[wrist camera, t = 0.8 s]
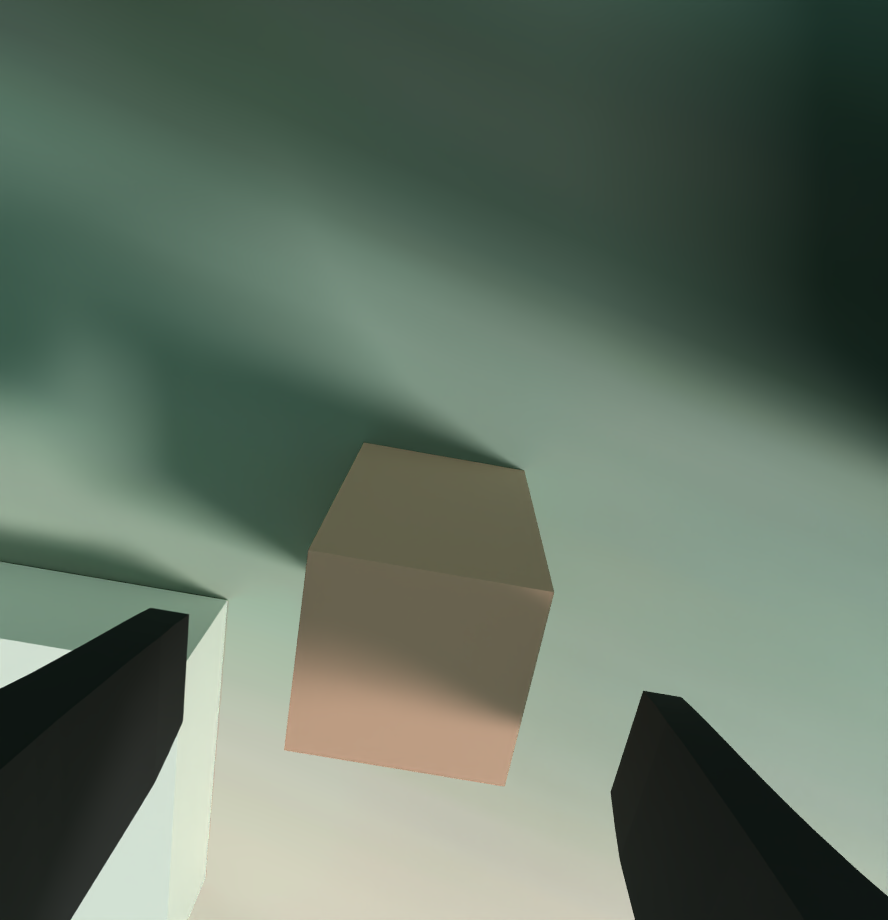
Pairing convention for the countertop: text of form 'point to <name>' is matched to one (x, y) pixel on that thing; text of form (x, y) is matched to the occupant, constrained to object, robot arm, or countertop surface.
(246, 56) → the countertop surface
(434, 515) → the block
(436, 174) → the countertop surface
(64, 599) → the slab
